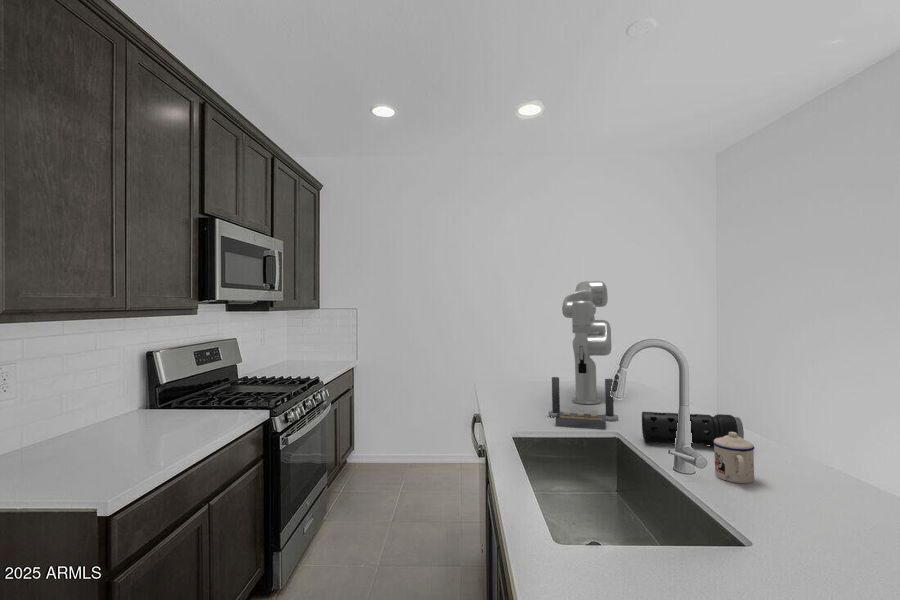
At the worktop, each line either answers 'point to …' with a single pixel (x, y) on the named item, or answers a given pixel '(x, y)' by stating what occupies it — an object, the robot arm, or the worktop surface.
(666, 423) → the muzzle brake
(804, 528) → the worktop surface
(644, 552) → the worktop surface
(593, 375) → the robot arm
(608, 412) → the post
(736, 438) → the teacup with lid
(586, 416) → the breaker panel
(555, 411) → the post
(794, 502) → the worktop surface
